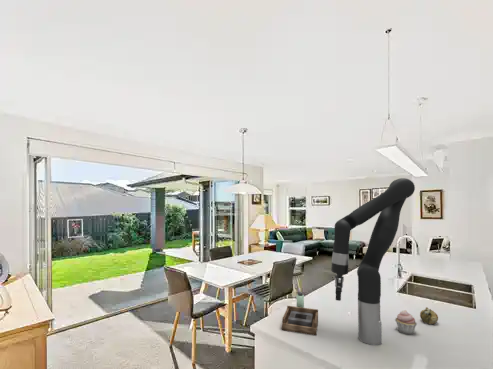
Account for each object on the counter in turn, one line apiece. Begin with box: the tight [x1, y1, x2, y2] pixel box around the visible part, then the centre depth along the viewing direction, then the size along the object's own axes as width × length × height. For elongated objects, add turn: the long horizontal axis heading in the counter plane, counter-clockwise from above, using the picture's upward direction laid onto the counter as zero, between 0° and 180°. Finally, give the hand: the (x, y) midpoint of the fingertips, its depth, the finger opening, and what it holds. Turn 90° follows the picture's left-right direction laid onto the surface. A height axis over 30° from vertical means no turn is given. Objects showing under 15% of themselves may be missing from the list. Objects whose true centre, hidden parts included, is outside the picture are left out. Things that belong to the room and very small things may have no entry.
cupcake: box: [394, 309, 418, 335], centre depth 131 cm, size 9×9×10 cm
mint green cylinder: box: [296, 291, 305, 308], centre depth 150 cm, size 4×4×12 cm
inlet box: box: [281, 305, 319, 336], centre depth 135 cm, size 16×16×6 cm
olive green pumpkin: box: [419, 307, 439, 325], centre depth 141 cm, size 8×8×8 cm
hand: (337, 297), depth 127 cm, fingers open, 8 cm apart
